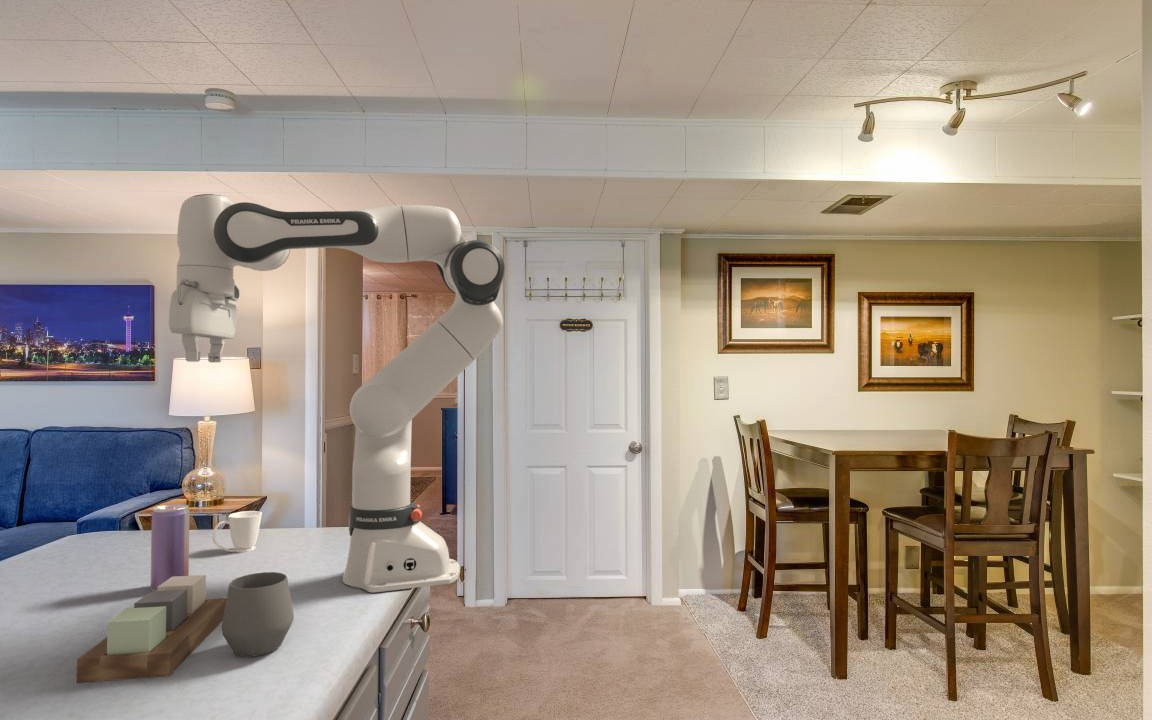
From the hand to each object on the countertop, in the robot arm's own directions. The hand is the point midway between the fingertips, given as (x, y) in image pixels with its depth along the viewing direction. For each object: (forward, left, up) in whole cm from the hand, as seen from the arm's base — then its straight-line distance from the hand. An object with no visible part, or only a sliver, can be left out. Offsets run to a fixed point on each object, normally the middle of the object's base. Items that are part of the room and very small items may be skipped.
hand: (204, 362), depth 114 cm
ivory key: (-2, +13, -39) cm, 42 cm away
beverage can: (+8, -7, -42) cm, 44 cm away
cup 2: (-17, +24, -42) cm, 51 cm away
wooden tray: (-2, +20, -42) cm, 47 cm away
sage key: (-2, +27, -39) cm, 48 cm away
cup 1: (+4, -31, -42) cm, 52 cm away
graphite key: (-2, +20, -39) cm, 44 cm away
